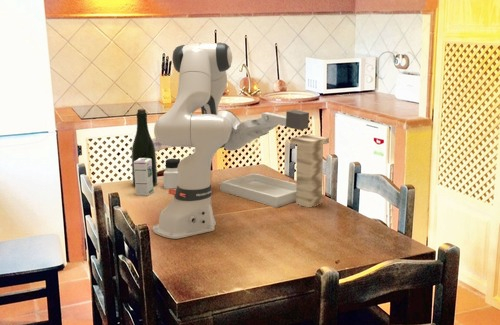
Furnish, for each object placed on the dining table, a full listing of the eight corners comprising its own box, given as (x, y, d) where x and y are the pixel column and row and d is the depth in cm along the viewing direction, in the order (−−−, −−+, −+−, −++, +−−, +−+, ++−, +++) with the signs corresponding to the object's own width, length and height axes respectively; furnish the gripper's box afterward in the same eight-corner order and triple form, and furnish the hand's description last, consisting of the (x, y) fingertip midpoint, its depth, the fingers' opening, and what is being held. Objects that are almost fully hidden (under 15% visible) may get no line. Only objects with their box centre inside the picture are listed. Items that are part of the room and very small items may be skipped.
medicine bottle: (180, 188, 258) (179, 161, 255) (164, 188, 258) (162, 161, 255) (183, 184, 265) (182, 157, 262) (166, 184, 265) (165, 157, 262)
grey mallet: (299, 130, 229) (300, 114, 227) (259, 120, 243) (260, 105, 241) (308, 128, 232) (309, 112, 231) (268, 119, 246) (269, 104, 245)
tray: (276, 207, 231) (276, 197, 230) (220, 191, 253) (220, 181, 252) (310, 196, 245) (310, 186, 244) (254, 181, 267) (254, 173, 266)
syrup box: (148, 195, 248) (147, 161, 244) (135, 195, 249) (133, 160, 245) (153, 192, 253) (152, 158, 250) (140, 191, 254) (138, 157, 251)
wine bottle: (158, 186, 260) (155, 110, 253) (134, 188, 258) (129, 111, 250) (155, 180, 270) (152, 107, 263) (132, 182, 268) (127, 108, 260)
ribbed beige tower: (310, 209, 228) (311, 141, 222) (290, 204, 235) (291, 138, 229) (327, 203, 235) (328, 137, 229) (307, 198, 242) (308, 134, 236)
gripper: (228, 126, 245) (249, 112, 235) (264, 119, 259) (285, 106, 249) (234, 140, 244) (255, 127, 234) (269, 133, 258) (290, 120, 248)
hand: (271, 116), depth 242 cm, fingers closed on grey mallet, 3 cm apart
